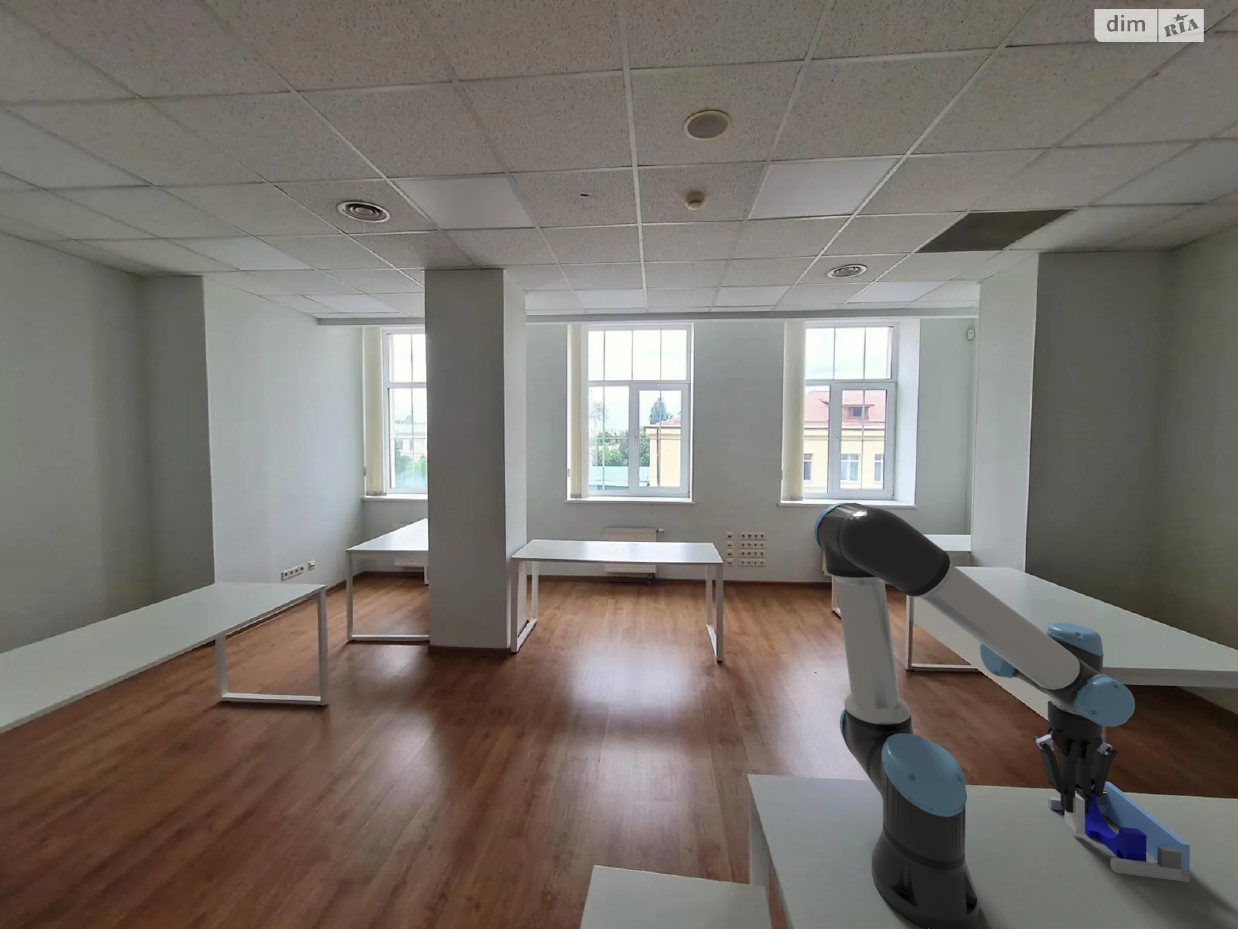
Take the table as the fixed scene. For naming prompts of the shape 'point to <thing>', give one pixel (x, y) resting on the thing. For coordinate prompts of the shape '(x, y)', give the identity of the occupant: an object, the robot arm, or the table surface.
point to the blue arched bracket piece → (1115, 836)
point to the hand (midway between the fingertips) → (1074, 827)
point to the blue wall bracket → (1160, 838)
